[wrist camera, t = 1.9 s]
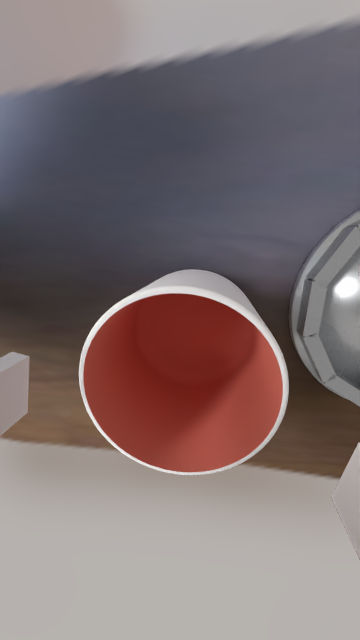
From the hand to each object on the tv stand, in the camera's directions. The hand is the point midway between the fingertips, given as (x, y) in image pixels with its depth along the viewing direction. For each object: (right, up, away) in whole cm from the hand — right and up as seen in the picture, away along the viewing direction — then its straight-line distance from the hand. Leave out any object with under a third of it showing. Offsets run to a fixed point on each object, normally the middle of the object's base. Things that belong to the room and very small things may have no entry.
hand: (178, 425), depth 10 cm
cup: (+1, +4, +12) cm, 12 cm away
